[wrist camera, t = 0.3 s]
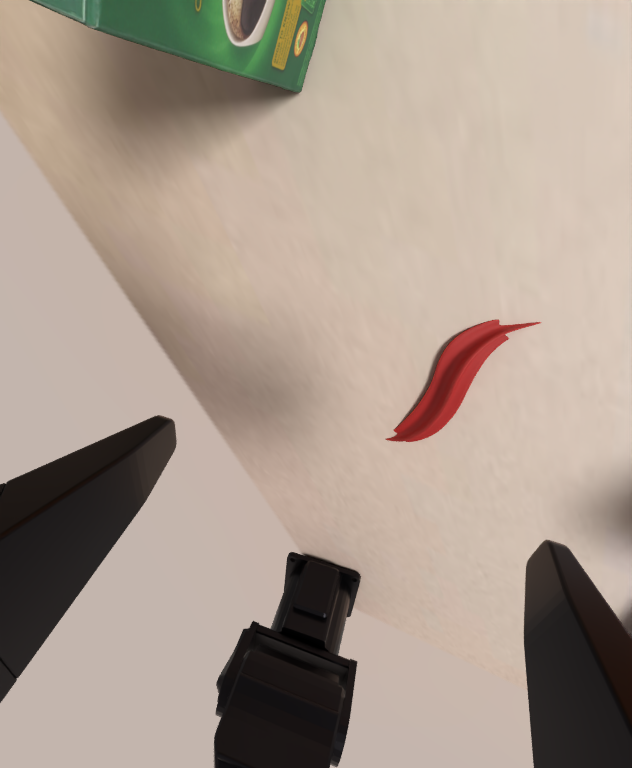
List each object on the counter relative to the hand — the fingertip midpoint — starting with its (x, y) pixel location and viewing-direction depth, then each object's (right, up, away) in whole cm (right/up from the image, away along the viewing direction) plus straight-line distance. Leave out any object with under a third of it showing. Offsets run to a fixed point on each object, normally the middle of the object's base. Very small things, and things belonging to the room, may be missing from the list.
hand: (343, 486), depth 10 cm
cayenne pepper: (+7, +3, +14) cm, 16 cm away
